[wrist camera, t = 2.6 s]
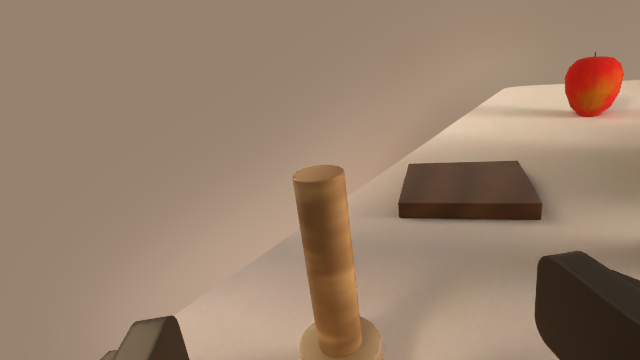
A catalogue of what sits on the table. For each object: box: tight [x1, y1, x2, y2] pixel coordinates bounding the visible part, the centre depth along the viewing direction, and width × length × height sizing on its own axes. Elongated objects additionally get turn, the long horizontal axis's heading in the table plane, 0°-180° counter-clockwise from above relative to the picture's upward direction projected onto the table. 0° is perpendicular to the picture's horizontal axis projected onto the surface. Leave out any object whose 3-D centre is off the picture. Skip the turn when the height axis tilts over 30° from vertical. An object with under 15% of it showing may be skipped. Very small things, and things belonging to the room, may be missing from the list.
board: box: [398, 161, 542, 220], centre depth 46 cm, size 14×14×2 cm
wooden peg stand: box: [293, 165, 383, 360], centre depth 21 cm, size 5×5×13 cm
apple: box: [565, 52, 624, 117], centre depth 73 cm, size 9×9×12 cm
